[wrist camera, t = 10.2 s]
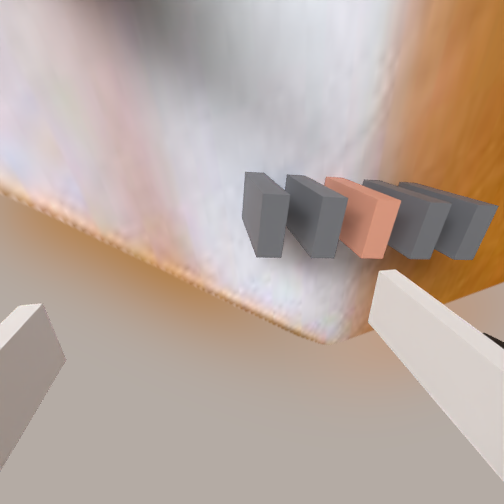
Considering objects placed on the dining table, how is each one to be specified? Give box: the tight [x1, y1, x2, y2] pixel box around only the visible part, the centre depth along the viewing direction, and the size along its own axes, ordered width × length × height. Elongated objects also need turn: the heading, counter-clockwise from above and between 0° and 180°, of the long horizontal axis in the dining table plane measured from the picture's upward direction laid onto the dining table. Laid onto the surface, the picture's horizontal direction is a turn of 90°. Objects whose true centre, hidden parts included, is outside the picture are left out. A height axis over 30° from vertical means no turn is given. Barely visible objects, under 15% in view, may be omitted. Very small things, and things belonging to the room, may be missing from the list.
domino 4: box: [363, 180, 452, 259], centre depth 27 cm, size 2×5×10 cm, turn 175°
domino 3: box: [324, 177, 401, 259], centre depth 26 cm, size 2×5×10 cm, turn 175°
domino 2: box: [285, 175, 348, 258], centre depth 25 cm, size 2×5×10 cm, turn 175°
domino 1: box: [242, 172, 290, 258], centre depth 24 cm, size 2×5×10 cm, turn 175°
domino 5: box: [399, 182, 498, 260], centre depth 27 cm, size 2×5×10 cm, turn 175°
